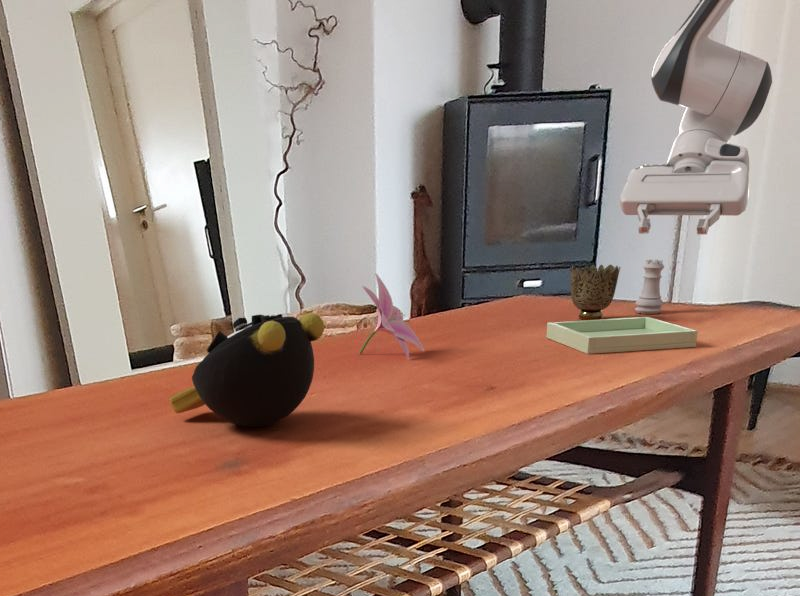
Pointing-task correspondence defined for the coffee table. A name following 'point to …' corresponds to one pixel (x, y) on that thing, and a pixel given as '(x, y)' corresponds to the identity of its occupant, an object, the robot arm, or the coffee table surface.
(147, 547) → the coffee table surface
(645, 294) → the rook chess piece
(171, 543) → the coffee table surface
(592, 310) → the cup
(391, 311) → the lily
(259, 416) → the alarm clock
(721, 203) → the robot arm
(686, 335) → the game tray
